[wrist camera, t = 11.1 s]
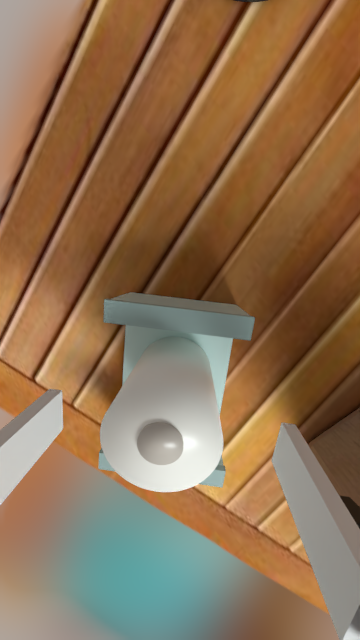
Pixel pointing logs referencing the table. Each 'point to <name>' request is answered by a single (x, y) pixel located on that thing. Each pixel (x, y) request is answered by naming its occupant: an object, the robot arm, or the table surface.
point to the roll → (165, 419)
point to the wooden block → (341, 455)
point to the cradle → (180, 321)
